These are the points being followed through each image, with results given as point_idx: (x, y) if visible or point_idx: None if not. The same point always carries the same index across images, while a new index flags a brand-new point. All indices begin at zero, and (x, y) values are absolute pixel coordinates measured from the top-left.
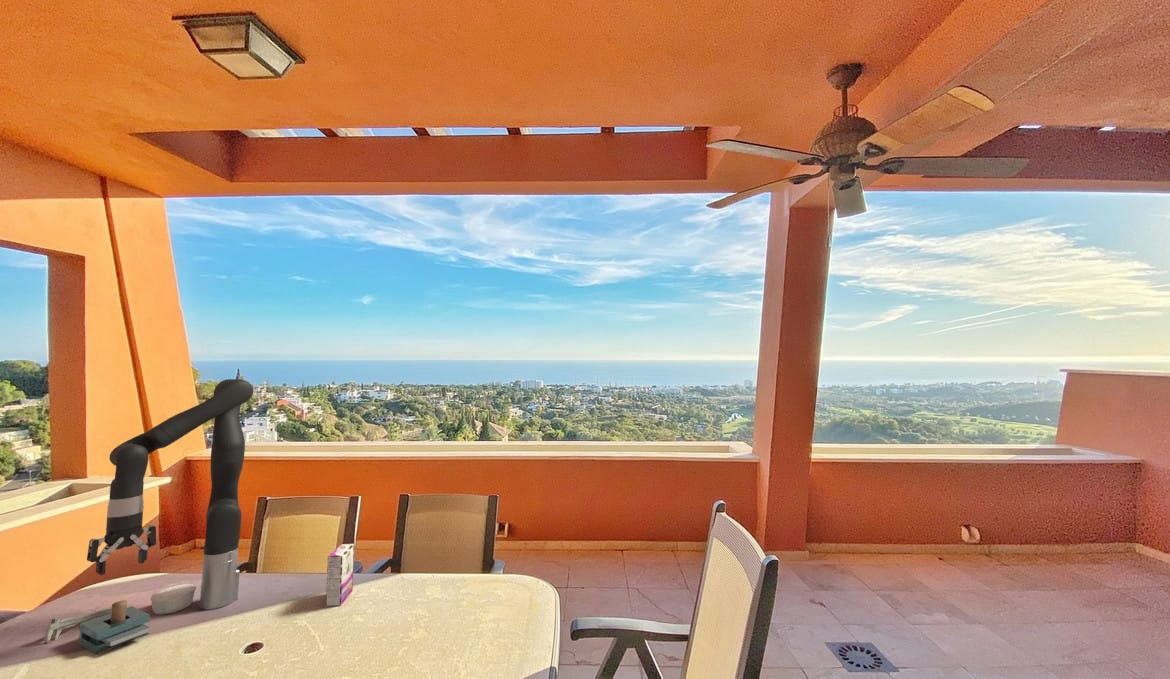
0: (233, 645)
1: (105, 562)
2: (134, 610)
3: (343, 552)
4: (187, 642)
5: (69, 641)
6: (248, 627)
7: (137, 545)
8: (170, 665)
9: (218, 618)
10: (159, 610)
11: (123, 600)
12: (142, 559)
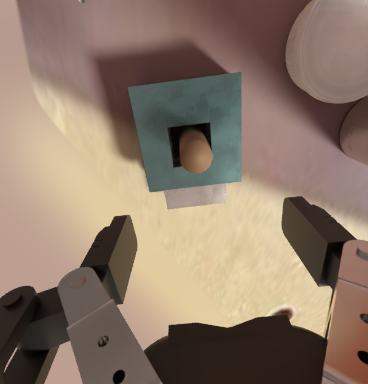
0: (273, 298)
1: (122, 296)
2: (232, 119)
3: None
4: (249, 248)
5: (123, 46)
6: None
7: (326, 323)
8: (210, 288)
9: (321, 205)
10: (290, 74)
11: (208, 146)
12: (295, 244)
